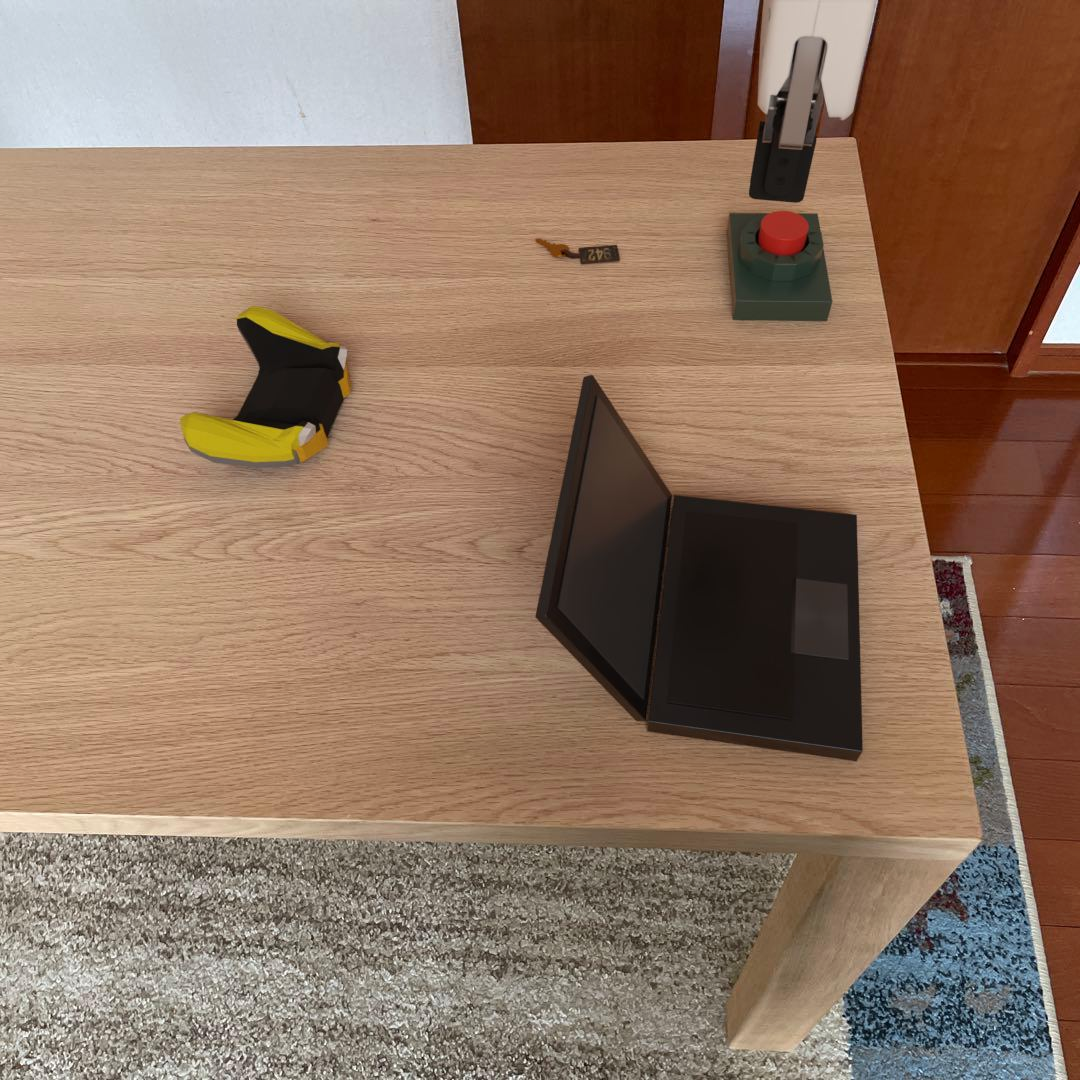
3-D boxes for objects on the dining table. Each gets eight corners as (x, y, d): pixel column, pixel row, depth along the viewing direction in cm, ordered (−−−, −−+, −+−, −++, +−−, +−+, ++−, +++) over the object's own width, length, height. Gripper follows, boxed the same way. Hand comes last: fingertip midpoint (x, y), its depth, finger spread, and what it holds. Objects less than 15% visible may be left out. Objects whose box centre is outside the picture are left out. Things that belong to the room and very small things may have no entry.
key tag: (622, 246, 87) (622, 241, 86) (618, 267, 85) (618, 262, 84) (535, 239, 88) (535, 234, 87) (530, 260, 86) (529, 254, 86)
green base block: (726, 232, 87) (731, 195, 84) (813, 233, 87) (821, 195, 83) (732, 320, 80) (739, 283, 77) (827, 321, 80) (837, 284, 77)
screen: (594, 373, 59) (583, 376, 60) (547, 615, 49) (534, 617, 50) (673, 494, 68) (663, 496, 68) (648, 721, 58) (636, 722, 58)
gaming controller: (190, 478, 73) (310, 494, 71) (164, 431, 68) (292, 448, 67) (260, 345, 81) (369, 358, 80) (241, 295, 77) (356, 308, 75)
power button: (756, 227, 82) (759, 210, 80) (802, 227, 82) (806, 210, 80) (759, 256, 80) (762, 239, 78) (807, 257, 79) (811, 240, 78)
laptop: (851, 527, 68) (857, 513, 66) (856, 761, 58) (863, 751, 56) (672, 507, 69) (673, 493, 68) (646, 731, 59) (648, 720, 58)
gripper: (943, -97, 36) (837, 281, 51) (929, -233, 44) (842, 127, 59) (747, -105, 37) (700, 267, 52) (769, -236, 45) (723, 118, 60)
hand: (776, 192), depth 56 cm, fingers closed
